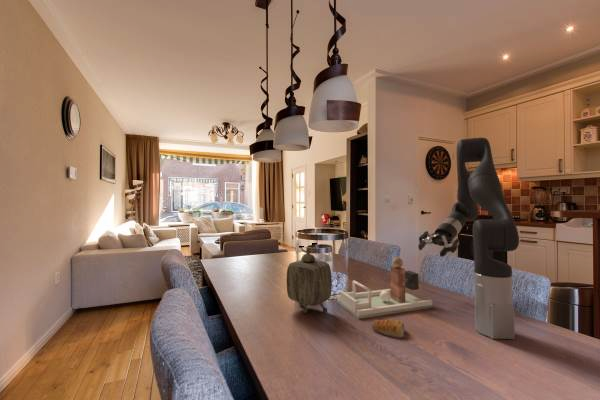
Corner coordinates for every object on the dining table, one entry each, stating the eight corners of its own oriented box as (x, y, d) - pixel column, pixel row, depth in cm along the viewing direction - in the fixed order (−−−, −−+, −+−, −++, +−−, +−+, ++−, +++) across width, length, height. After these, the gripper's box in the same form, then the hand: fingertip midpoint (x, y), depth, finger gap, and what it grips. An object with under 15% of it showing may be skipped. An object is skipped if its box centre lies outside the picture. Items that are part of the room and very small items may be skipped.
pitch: (402, 293, 121) (402, 287, 121) (432, 307, 105) (432, 300, 105) (337, 301, 112) (337, 295, 112) (358, 318, 96) (358, 311, 96)
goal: (355, 299, 112) (354, 279, 112) (372, 310, 100) (372, 289, 100) (339, 301, 110) (339, 281, 110) (355, 313, 98) (354, 291, 98)
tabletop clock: (332, 312, 102) (331, 241, 102) (317, 320, 95) (316, 244, 95) (300, 303, 111) (299, 238, 111) (284, 310, 104) (283, 241, 104)
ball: (392, 303, 107) (392, 292, 107) (381, 303, 107) (381, 292, 107) (389, 299, 111) (389, 289, 111) (378, 299, 111) (378, 289, 111)
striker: (410, 294, 115) (409, 254, 115) (418, 299, 110) (418, 257, 110) (389, 297, 112) (388, 256, 112) (397, 301, 107) (396, 259, 107)
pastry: (370, 334, 85) (370, 321, 85) (374, 325, 92) (373, 313, 92) (404, 339, 82) (403, 326, 82) (405, 329, 88) (405, 317, 88)
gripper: (431, 219, 126) (412, 239, 118) (466, 226, 116) (448, 249, 107) (432, 233, 129) (414, 253, 121) (466, 241, 119) (448, 264, 111)
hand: (430, 251), depth 114 cm, fingers open, 8 cm apart
